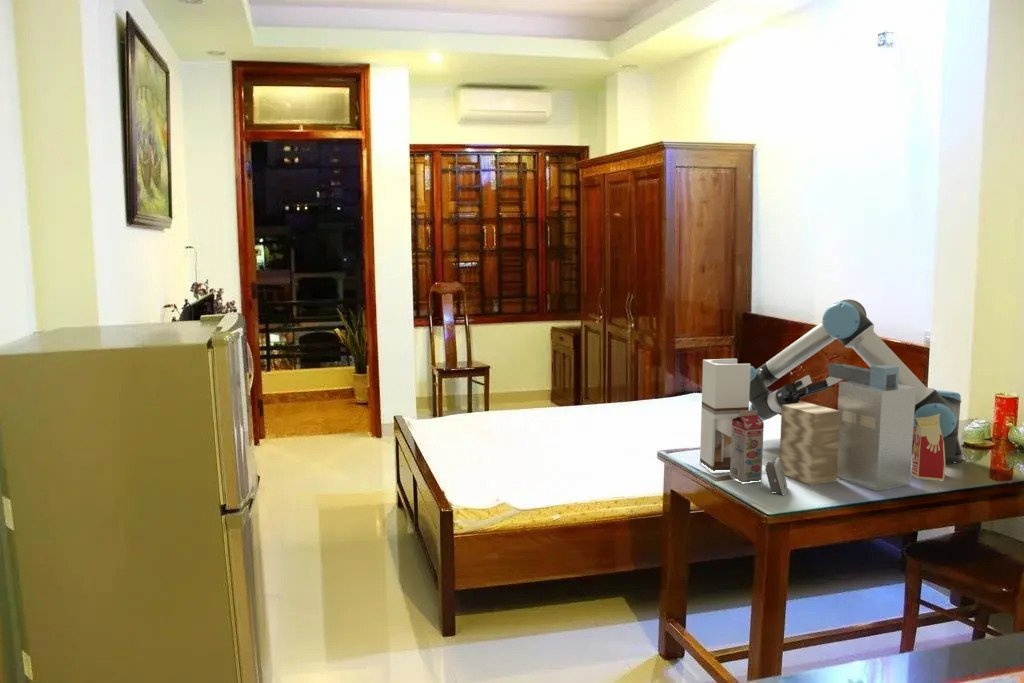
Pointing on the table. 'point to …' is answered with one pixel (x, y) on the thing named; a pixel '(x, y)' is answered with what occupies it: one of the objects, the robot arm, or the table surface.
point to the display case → (721, 408)
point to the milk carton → (928, 450)
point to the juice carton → (747, 446)
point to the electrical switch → (776, 476)
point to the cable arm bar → (866, 374)
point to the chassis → (875, 434)
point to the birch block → (809, 442)
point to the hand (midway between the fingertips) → (825, 377)
